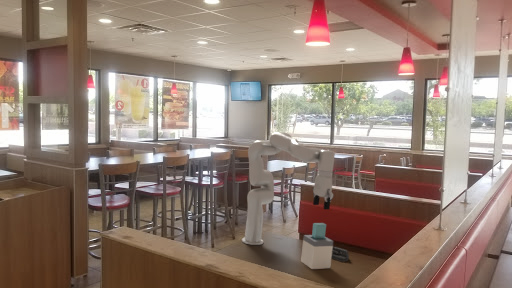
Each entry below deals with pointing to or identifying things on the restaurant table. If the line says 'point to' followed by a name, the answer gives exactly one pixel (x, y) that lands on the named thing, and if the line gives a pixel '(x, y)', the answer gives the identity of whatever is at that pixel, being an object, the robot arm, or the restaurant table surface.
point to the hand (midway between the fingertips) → (321, 207)
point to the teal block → (318, 231)
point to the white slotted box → (316, 252)
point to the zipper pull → (340, 254)
